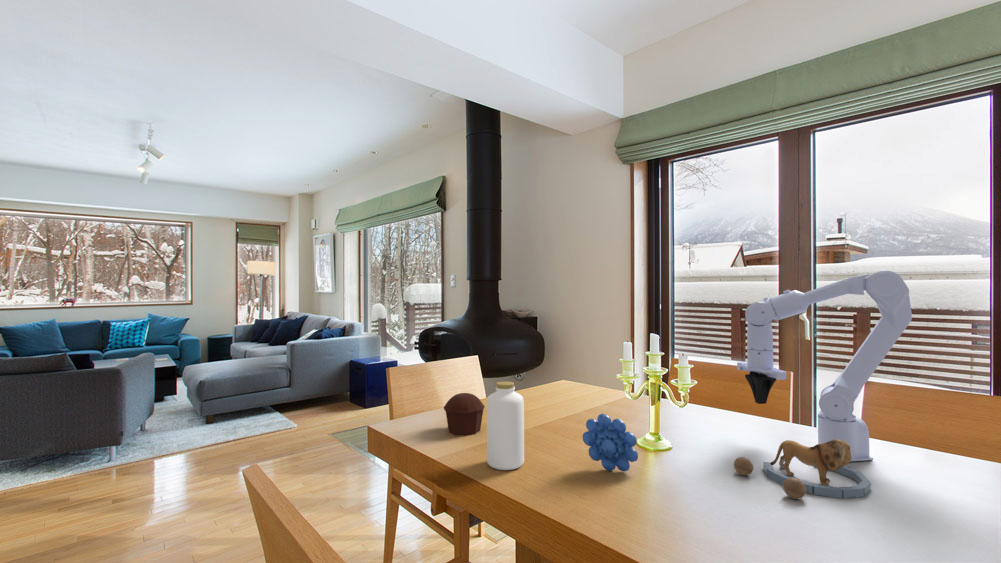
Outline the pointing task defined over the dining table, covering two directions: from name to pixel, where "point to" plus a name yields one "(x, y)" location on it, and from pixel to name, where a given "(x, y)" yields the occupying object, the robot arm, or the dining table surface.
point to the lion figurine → (815, 456)
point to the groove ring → (829, 491)
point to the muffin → (464, 414)
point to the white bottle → (505, 427)
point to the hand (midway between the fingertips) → (760, 403)
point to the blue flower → (610, 443)
